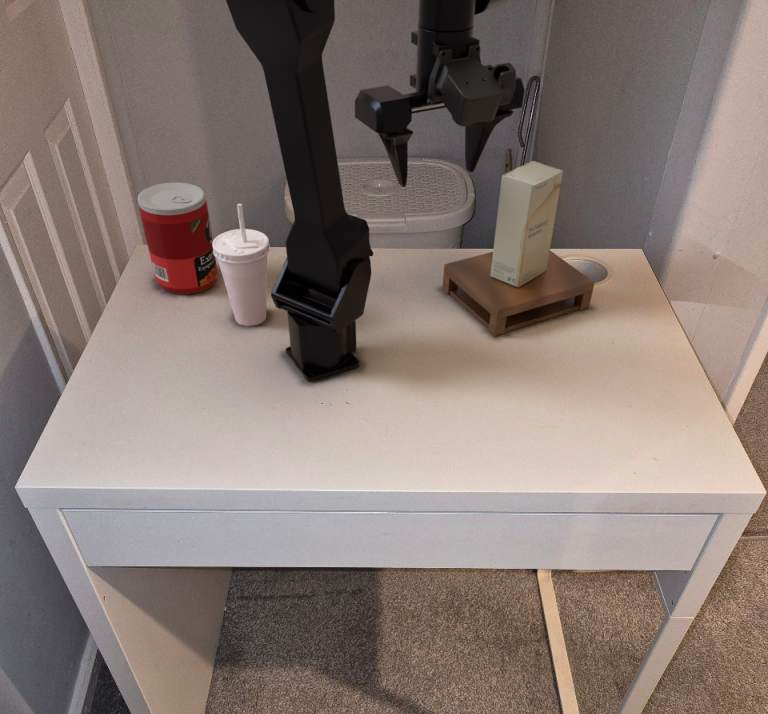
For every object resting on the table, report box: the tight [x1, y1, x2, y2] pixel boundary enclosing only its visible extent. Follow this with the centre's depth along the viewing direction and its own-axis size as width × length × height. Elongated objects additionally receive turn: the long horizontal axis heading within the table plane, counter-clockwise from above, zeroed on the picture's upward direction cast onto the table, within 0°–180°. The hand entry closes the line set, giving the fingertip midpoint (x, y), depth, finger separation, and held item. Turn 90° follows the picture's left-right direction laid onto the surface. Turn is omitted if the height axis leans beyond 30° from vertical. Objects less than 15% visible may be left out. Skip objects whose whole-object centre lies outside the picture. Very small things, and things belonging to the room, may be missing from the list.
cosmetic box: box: [490, 160, 564, 287], centre depth 88 cm, size 6×4×12 cm
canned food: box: [137, 182, 219, 295], centre depth 94 cm, size 8×8×11 cm
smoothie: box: [212, 203, 271, 327], centre depth 87 cm, size 6×6×14 cm
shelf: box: [442, 250, 596, 337], centre depth 94 cm, size 14×12×4 cm
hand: (436, 178), depth 89 cm, fingers open, 9 cm apart
